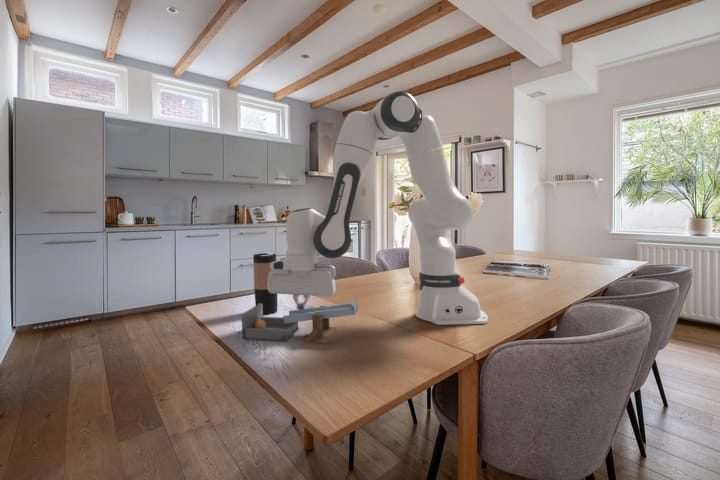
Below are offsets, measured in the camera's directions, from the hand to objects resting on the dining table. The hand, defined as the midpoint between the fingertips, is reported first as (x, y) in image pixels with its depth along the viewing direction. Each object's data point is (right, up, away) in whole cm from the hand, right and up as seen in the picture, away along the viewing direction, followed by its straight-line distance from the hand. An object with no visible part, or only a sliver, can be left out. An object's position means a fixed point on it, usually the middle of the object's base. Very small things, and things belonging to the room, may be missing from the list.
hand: (301, 309), depth 104 cm
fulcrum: (+7, -6, -7) cm, 11 cm away
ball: (-11, -4, -4) cm, 13 cm away
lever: (+7, 0, -4) cm, 8 cm away
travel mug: (-15, -5, +17) cm, 23 cm away
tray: (-8, -6, -5) cm, 11 cm away
